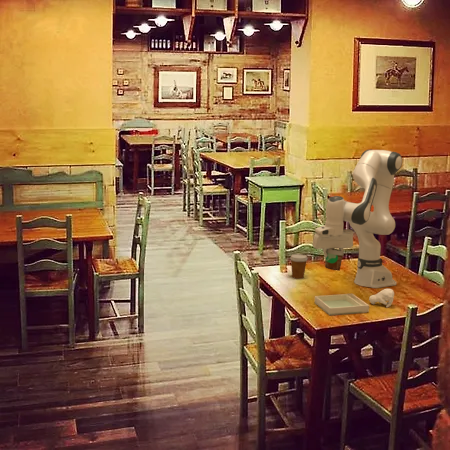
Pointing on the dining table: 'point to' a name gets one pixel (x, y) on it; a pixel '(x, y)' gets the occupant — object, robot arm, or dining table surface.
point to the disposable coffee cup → (298, 265)
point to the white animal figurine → (383, 297)
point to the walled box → (341, 304)
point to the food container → (334, 259)
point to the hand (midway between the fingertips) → (332, 257)
